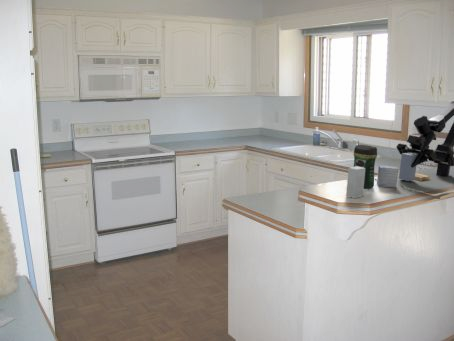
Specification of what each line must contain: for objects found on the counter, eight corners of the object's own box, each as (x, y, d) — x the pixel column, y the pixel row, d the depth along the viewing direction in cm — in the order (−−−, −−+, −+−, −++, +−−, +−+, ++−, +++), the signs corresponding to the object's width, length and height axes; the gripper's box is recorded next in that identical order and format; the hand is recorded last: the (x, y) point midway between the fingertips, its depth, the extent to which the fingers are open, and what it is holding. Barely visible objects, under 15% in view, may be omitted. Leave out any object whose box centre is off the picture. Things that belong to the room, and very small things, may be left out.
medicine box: (394, 185, 222) (396, 166, 220) (396, 187, 218) (398, 168, 216) (376, 184, 223) (378, 165, 221) (378, 186, 219) (380, 167, 217)
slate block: (405, 177, 232) (408, 152, 230) (414, 179, 228) (417, 154, 226) (398, 178, 229) (401, 153, 227) (408, 181, 226) (411, 155, 223)
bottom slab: (415, 178, 241) (416, 175, 240) (430, 182, 234) (431, 179, 234) (406, 180, 236) (406, 177, 236) (421, 184, 230) (421, 181, 229)
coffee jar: (376, 187, 216) (381, 146, 212) (366, 190, 211) (371, 147, 207) (357, 183, 223) (361, 142, 219) (347, 185, 217) (351, 144, 213)
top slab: (416, 176, 240) (416, 173, 240) (429, 179, 234) (429, 176, 234) (407, 177, 236) (408, 174, 236) (420, 180, 230) (420, 177, 230)
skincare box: (354, 194, 204) (357, 165, 201) (362, 196, 201) (366, 167, 198) (345, 196, 200) (348, 167, 197) (354, 198, 197) (357, 169, 194)
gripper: (401, 126, 233) (383, 150, 230) (436, 132, 218) (418, 158, 215) (409, 141, 240) (392, 165, 236) (444, 148, 225) (426, 174, 221)
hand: (406, 165), depth 227 cm, fingers closed on slate block, 5 cm apart
